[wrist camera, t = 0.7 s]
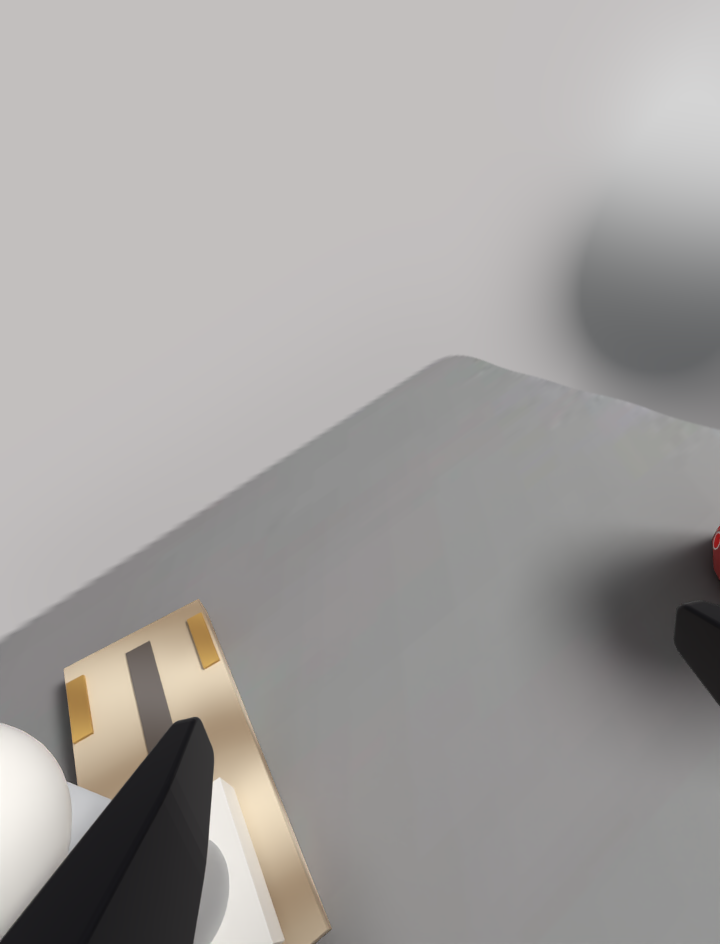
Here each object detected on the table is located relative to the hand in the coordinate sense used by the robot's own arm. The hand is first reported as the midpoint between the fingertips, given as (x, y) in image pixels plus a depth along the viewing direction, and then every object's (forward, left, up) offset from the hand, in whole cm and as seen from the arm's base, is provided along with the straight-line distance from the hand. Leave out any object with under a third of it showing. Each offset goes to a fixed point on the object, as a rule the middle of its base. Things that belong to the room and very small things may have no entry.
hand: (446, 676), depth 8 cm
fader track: (-1, +11, -15) cm, 18 cm away
